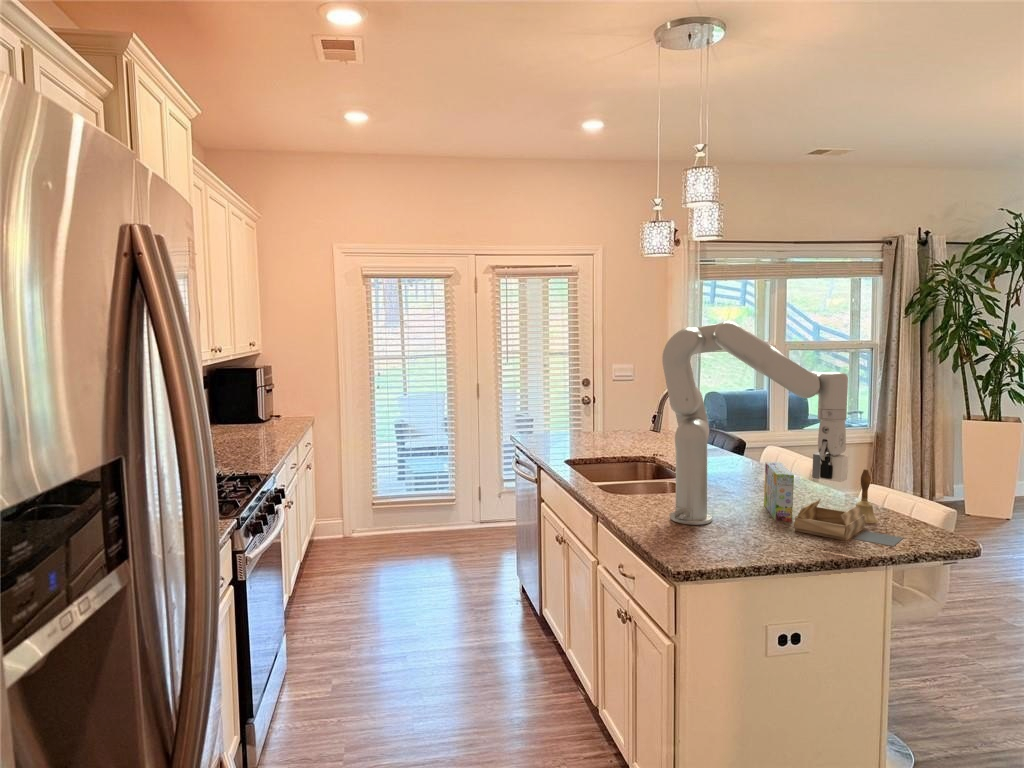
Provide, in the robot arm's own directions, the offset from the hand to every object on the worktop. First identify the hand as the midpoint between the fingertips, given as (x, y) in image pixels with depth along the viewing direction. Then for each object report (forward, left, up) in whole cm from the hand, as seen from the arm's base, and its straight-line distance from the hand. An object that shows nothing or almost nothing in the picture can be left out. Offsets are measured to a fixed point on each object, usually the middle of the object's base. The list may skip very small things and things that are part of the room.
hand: (829, 476), depth 193 cm
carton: (0, 0, -16) cm, 16 cm away
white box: (0, 0, -1) cm, 1 cm away
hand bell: (+18, -4, -17) cm, 25 cm away
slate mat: (0, -13, -16) cm, 21 cm away
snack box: (+9, +19, -17) cm, 27 cm away
